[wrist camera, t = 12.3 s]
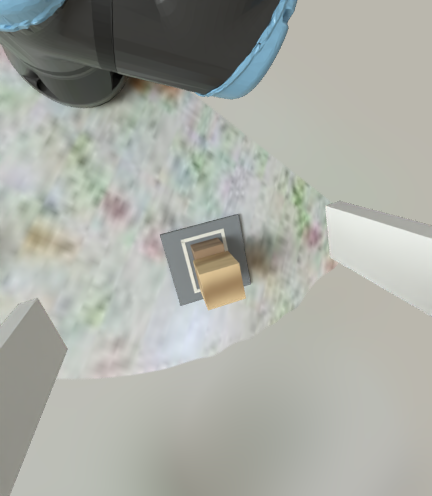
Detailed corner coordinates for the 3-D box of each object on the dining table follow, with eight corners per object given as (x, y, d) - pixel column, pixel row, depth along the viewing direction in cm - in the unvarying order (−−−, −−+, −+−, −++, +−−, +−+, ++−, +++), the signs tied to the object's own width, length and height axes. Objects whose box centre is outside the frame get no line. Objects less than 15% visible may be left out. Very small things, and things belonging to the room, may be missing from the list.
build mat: (159, 234, 47) (160, 235, 46) (237, 214, 49) (238, 214, 48) (180, 304, 51) (180, 306, 51) (249, 282, 54) (251, 284, 53)
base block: (190, 244, 48) (193, 252, 44) (217, 237, 49) (223, 243, 45) (200, 284, 51) (204, 294, 47) (225, 277, 51) (232, 286, 48)
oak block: (192, 260, 44) (199, 274, 39) (227, 250, 45) (239, 263, 40) (200, 292, 47) (208, 310, 41) (234, 282, 47) (245, 298, 42)
